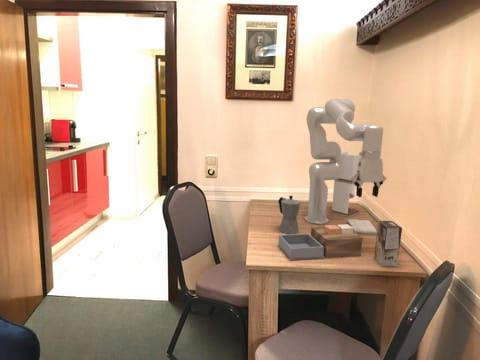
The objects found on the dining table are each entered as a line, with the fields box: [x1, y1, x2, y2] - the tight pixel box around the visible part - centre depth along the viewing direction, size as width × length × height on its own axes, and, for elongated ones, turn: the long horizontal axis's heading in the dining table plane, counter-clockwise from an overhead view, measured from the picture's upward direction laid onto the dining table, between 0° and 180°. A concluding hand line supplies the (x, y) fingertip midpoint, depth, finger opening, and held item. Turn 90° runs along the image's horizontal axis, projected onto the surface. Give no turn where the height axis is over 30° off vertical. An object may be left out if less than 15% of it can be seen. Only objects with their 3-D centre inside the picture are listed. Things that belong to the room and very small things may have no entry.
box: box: [277, 233, 324, 262], centre depth 163 cm, size 16×14×5 cm
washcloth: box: [347, 218, 377, 235], centre depth 197 cm, size 12×18×3 cm, turn 177°
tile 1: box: [323, 224, 340, 235], centre depth 165 cm, size 5×5×2 cm
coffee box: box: [373, 220, 403, 267], centre depth 155 cm, size 9×6×16 cm
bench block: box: [310, 226, 363, 259], centre depth 167 cm, size 16×16×8 cm
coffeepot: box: [278, 195, 301, 235], centre depth 189 cm, size 15×9×18 cm, turn 33°
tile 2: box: [336, 223, 353, 234], centre depth 166 cm, size 5×5×2 cm
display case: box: [331, 151, 361, 219], centre depth 218 cm, size 11×11×35 cm
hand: (366, 195), depth 165 cm, fingers open, 6 cm apart
